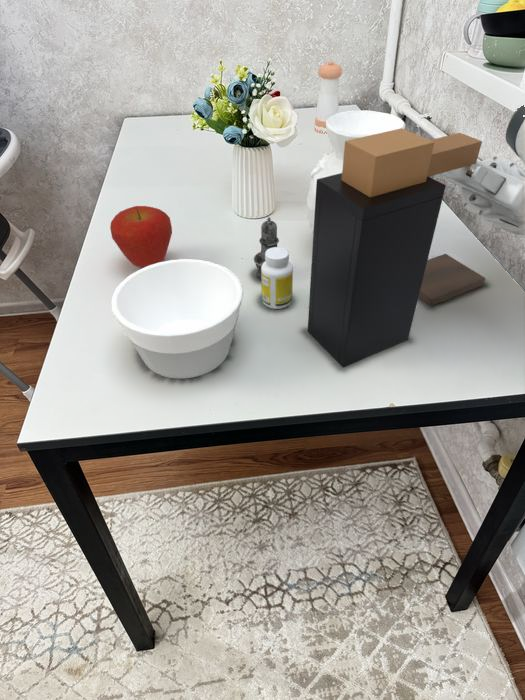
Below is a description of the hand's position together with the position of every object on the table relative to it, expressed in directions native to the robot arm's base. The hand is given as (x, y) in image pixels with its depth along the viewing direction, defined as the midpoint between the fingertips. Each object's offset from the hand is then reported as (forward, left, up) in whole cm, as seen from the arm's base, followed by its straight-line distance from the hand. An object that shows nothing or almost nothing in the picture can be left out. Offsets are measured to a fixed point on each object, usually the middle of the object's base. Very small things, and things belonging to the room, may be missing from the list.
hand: (445, 159), depth 66 cm
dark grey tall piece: (+23, +15, -27) cm, 38 cm away
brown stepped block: (0, +6, -1) cm, 6 cm away
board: (+5, -11, -27) cm, 30 cm away
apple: (+38, +34, -27) cm, 57 cm away
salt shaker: (+85, -42, -27) cm, 99 cm away
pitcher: (+23, -4, -27) cm, 36 cm away
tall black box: (0, +11, -27) cm, 29 cm away
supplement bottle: (+15, +18, -27) cm, 36 cm away
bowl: (+11, +37, -27) cm, 47 cm away
